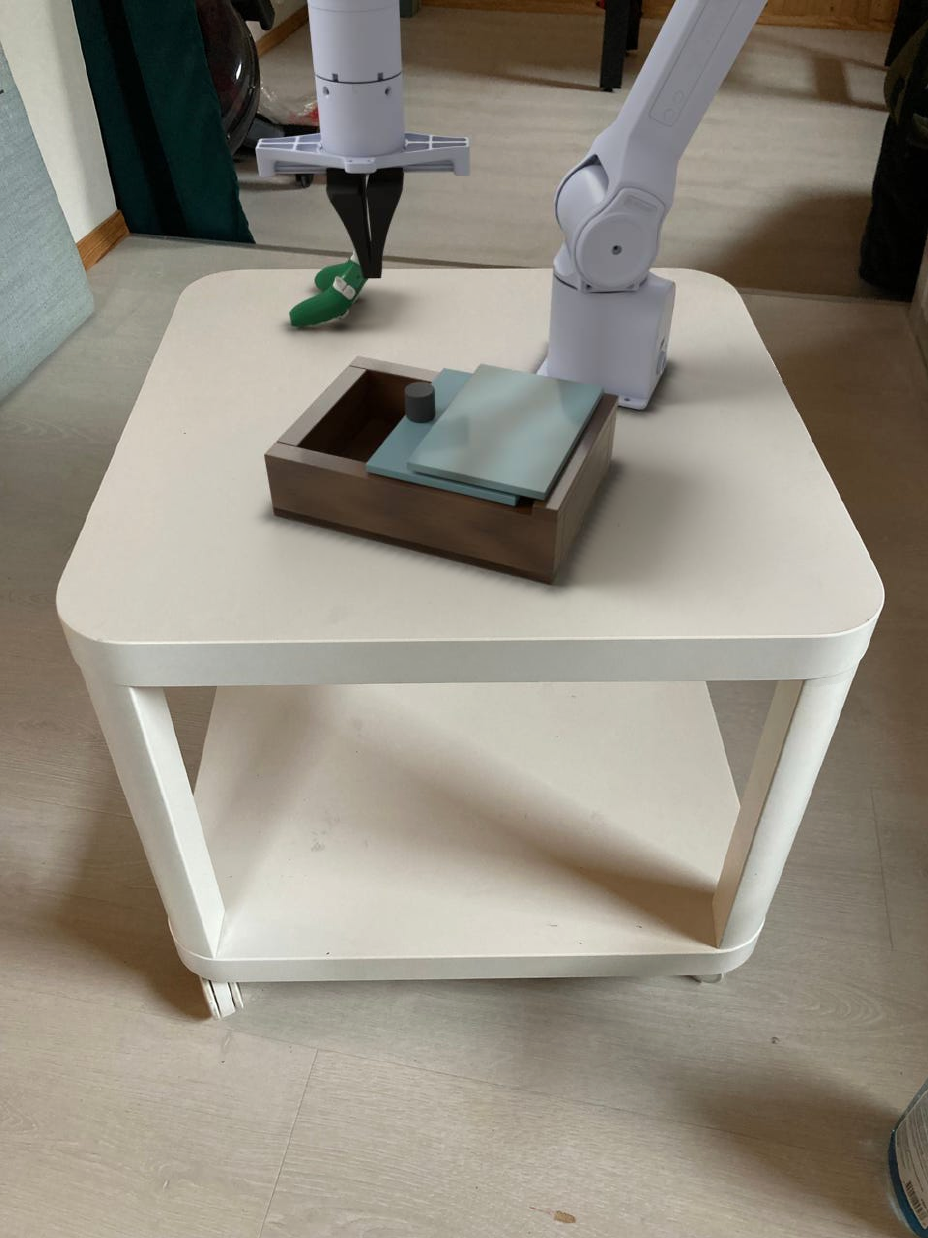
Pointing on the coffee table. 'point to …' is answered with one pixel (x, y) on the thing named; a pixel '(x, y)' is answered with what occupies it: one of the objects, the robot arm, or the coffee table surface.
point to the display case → (452, 465)
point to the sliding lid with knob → (420, 417)
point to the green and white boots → (330, 294)
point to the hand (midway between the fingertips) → (372, 272)
